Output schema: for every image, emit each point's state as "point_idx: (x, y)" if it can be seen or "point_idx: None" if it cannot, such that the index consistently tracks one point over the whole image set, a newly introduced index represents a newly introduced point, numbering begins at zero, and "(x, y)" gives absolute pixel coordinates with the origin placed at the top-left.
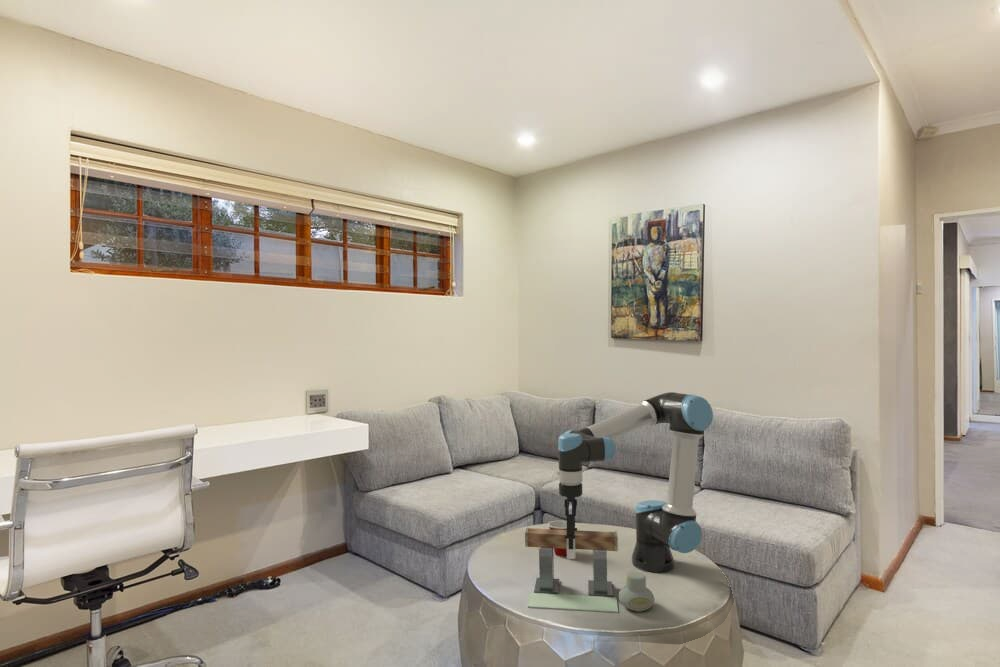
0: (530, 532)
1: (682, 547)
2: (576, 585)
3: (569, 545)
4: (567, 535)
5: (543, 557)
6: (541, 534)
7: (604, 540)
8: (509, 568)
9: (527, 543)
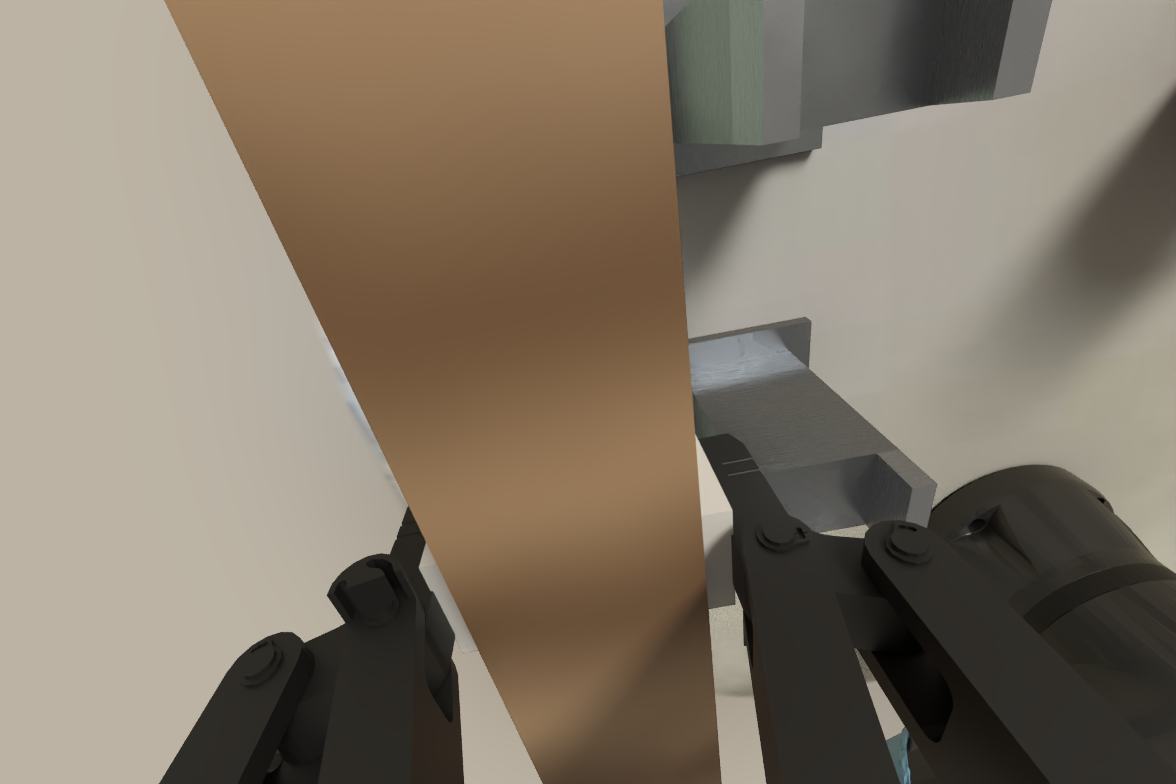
0: None
1: None
2: (766, 263)
3: (403, 537)
4: (211, 718)
5: (725, 32)
6: (180, 15)
7: None
8: None
9: None
